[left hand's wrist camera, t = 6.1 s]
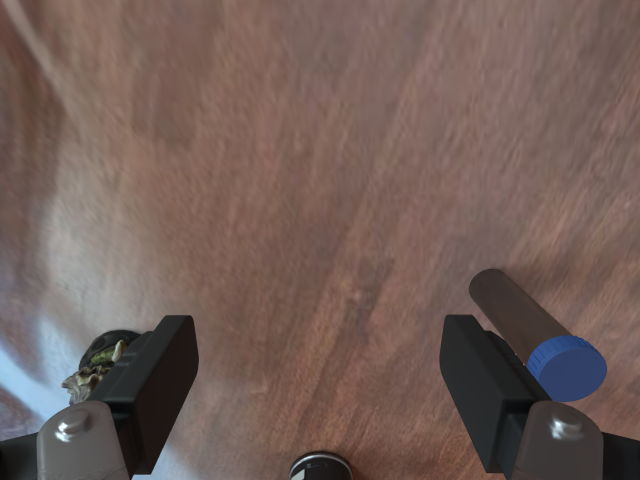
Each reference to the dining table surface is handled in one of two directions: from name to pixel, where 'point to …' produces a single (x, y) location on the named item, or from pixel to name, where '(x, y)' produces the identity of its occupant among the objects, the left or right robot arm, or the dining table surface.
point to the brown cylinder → (514, 313)
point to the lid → (567, 368)
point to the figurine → (97, 363)
